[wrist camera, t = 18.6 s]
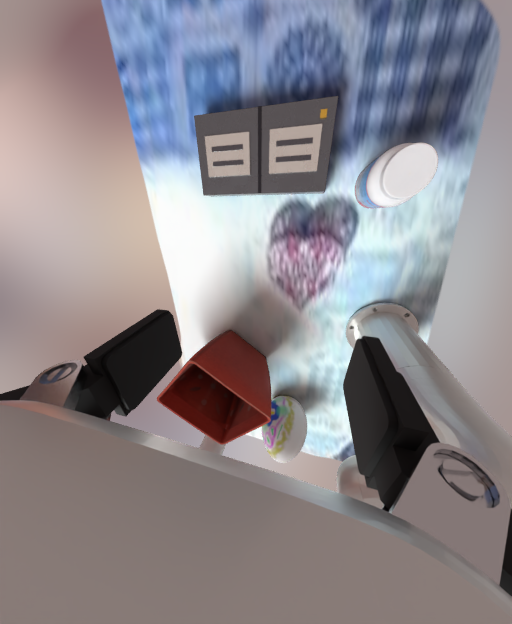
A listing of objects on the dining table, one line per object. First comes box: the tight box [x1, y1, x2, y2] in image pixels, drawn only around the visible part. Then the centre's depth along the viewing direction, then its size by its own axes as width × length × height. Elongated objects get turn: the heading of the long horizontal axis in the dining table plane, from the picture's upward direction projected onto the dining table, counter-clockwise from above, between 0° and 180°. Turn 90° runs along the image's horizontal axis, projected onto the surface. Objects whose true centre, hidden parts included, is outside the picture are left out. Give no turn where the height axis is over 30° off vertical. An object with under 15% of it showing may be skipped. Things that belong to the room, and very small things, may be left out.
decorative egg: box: [262, 396, 307, 463], centre depth 50 cm, size 12×12×15 cm
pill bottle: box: [355, 143, 438, 208], centre depth 24 cm, size 6×6×11 cm
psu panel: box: [194, 96, 338, 196], centre depth 29 cm, size 20×10×3 cm, turn 90°
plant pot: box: [157, 330, 271, 445], centre depth 45 cm, size 19×19×17 cm
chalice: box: [200, 435, 226, 455], centre depth 54 cm, size 7×7×18 cm
